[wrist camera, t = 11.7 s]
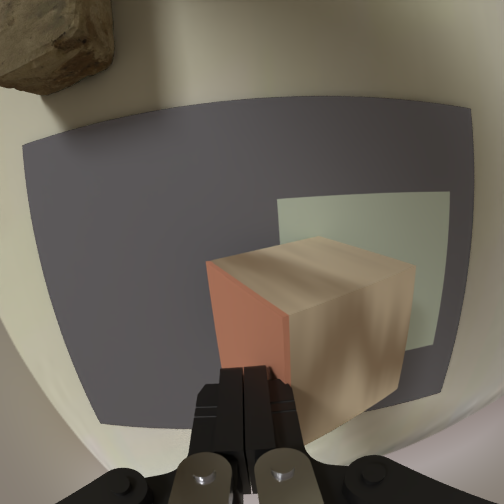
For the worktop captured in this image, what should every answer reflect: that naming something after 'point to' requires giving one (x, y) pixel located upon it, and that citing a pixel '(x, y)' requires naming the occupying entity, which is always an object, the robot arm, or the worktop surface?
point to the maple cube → (316, 323)
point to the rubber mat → (240, 230)
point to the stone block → (53, 43)
